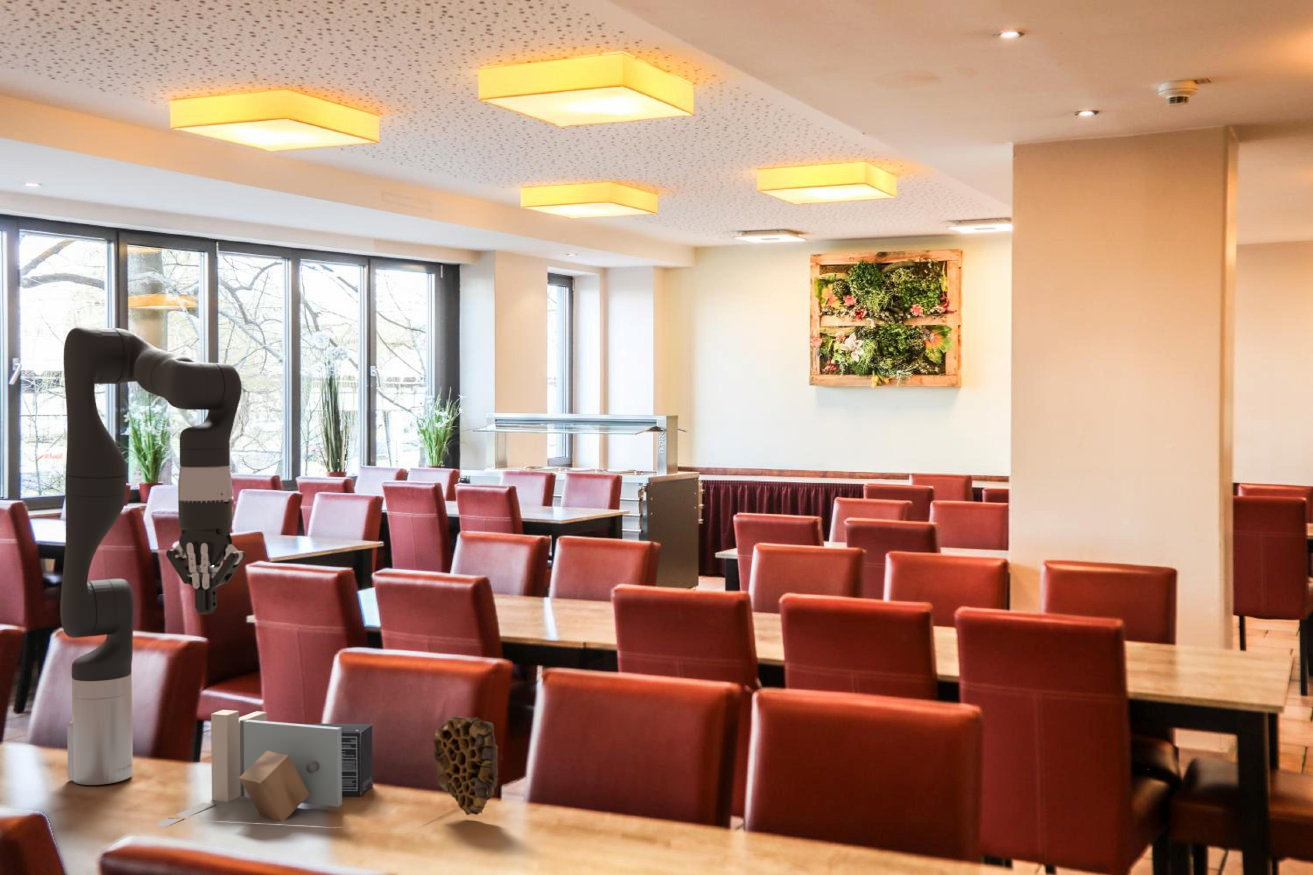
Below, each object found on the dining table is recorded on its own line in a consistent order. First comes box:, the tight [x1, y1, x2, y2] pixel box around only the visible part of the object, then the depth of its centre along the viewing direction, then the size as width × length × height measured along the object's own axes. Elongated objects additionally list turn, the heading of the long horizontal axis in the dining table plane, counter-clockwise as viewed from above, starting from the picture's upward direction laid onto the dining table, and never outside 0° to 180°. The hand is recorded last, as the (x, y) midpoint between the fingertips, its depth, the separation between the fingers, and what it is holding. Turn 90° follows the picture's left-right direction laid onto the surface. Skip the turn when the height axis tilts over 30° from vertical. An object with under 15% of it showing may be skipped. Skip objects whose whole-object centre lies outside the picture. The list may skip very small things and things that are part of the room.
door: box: [240, 720, 343, 808], centre depth 199 cm, size 3×18×12 cm, turn 72°
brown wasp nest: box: [433, 716, 499, 816], centre depth 195 cm, size 11×4×15 cm, turn 74°
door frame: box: [154, 709, 268, 828], centre depth 197 cm, size 3×32×14 cm, turn 162°
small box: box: [310, 722, 374, 797], centre depth 208 cm, size 11×6×10 cm, turn 84°
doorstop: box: [239, 751, 310, 822], centre depth 193 cm, size 5×8×6 cm
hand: (206, 613), depth 189 cm, fingers closed
